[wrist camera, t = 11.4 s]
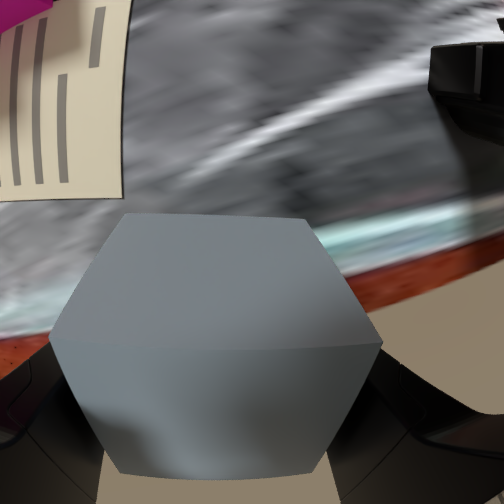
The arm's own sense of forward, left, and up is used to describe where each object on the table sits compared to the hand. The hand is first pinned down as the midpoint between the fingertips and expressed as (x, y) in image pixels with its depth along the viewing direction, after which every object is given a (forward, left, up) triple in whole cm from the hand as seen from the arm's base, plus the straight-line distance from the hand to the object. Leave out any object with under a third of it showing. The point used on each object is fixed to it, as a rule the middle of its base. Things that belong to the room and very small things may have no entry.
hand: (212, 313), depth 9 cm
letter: (+10, -6, -7) cm, 14 cm away
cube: (0, 0, -1) cm, 1 cm away
